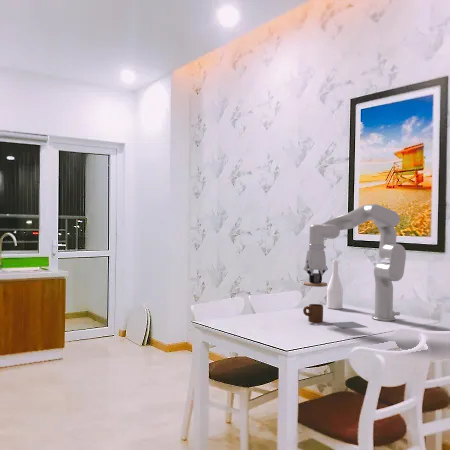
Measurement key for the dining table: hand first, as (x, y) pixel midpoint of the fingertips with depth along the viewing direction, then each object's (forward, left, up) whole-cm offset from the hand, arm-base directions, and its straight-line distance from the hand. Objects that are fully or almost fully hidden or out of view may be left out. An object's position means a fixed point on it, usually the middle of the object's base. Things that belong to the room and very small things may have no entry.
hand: (315, 282), depth 262 cm
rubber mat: (-13, +11, -22) cm, 28 cm away
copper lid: (0, 0, -1) cm, 1 cm away
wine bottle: (-35, -40, -22) cm, 57 cm away
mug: (+1, -1, -22) cm, 22 cm away
